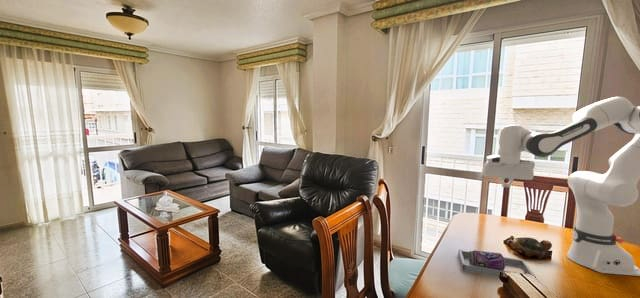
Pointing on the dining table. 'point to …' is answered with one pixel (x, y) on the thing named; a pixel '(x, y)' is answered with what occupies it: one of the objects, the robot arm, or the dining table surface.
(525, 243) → the clay ocarina
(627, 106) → the robot arm
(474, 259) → the beverage can
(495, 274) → the frame
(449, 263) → the dining table surface
